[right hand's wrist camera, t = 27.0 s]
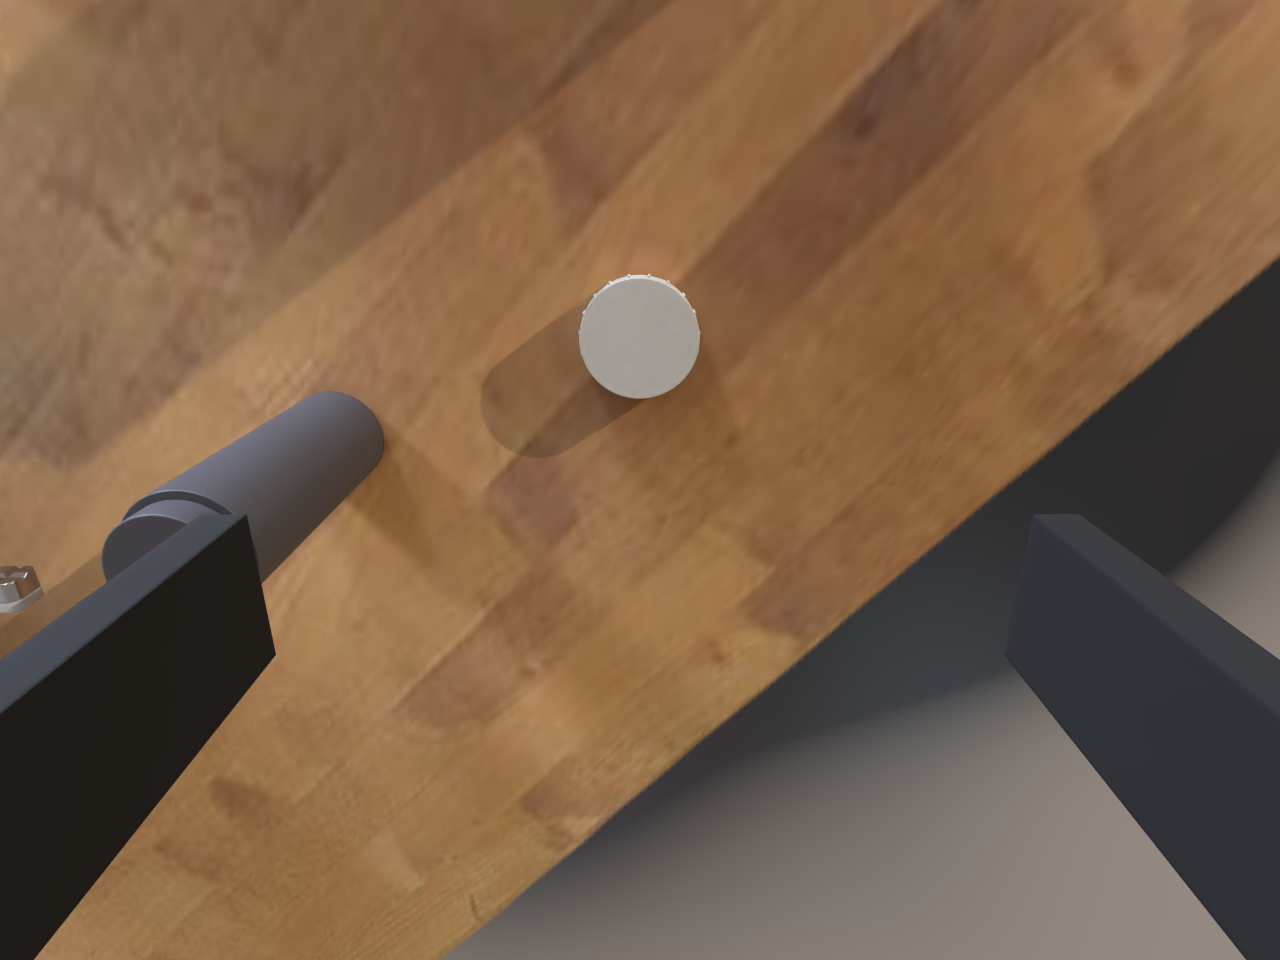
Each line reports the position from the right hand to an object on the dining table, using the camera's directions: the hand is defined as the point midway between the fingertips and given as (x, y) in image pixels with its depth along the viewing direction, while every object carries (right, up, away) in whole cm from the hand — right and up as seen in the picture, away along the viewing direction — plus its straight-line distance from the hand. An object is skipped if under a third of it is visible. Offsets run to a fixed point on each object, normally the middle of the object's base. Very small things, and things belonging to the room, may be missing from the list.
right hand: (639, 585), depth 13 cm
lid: (0, +9, +23) cm, 25 cm away
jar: (-16, +4, +26) cm, 31 cm away
